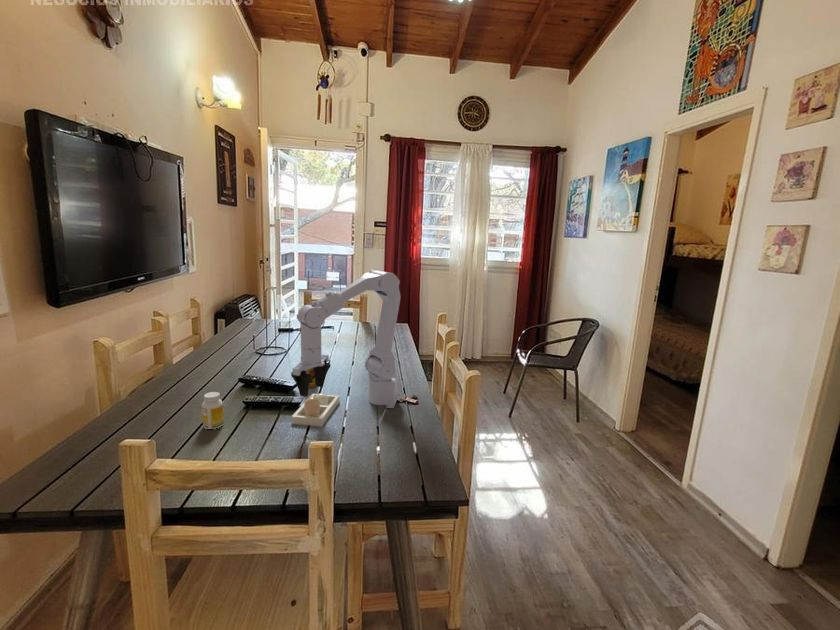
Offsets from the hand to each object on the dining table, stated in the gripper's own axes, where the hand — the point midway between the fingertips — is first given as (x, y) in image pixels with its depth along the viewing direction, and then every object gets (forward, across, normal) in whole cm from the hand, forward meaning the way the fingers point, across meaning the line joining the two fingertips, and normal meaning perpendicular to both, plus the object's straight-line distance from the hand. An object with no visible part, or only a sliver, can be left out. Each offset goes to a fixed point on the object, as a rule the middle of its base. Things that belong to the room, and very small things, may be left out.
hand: (311, 391), depth 122 cm
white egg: (+9, +8, +2) cm, 12 cm away
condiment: (+10, +20, +17) cm, 29 cm away
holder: (+9, +4, +1) cm, 10 cm away
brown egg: (+9, 0, 0) cm, 9 cm away
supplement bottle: (+10, -15, +23) cm, 29 cm away
